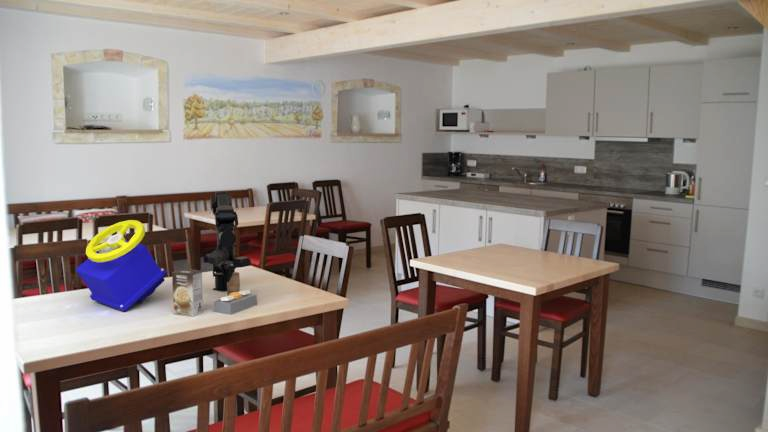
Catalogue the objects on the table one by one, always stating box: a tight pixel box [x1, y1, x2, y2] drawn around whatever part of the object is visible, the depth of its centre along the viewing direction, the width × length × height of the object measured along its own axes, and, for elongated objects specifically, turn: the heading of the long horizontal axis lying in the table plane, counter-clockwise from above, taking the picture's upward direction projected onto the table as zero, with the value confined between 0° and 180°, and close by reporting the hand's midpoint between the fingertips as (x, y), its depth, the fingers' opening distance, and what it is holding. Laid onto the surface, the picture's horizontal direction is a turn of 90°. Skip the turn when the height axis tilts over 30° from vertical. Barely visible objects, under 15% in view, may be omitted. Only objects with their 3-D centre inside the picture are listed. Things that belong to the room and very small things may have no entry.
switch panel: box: [213, 293, 258, 315], centre depth 242 cm, size 8×15×4 cm, turn 152°
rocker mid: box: [229, 292, 242, 299], centre depth 241 cm, size 4×3×1 cm
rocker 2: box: [237, 289, 251, 295], centre depth 245 cm, size 4×3×1 cm
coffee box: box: [171, 268, 204, 318], centre depth 234 cm, size 9×6×16 cm
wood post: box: [226, 271, 241, 296], centre depth 256 cm, size 5×5×10 cm
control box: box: [75, 219, 168, 313], centre depth 244 cm, size 26×27×30 cm
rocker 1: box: [220, 295, 234, 301], centre depth 237 cm, size 4×3×1 cm
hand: (227, 281), depth 243 cm, fingers closed
